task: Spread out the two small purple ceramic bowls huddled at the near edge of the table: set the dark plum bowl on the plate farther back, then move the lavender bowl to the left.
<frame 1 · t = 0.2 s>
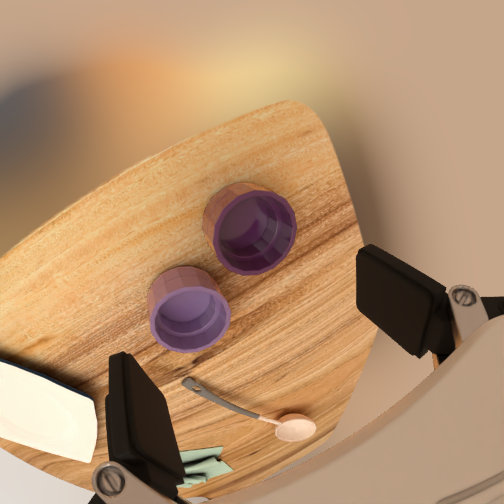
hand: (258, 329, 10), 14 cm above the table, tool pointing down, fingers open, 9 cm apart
plate: (27, 404, 22), on the table
lavender bowl: (182, 296, 24), on the table
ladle: (256, 406, 36), on the table
plum bowl: (239, 219, 24), on the table
cloth: (186, 469, 39), on the table
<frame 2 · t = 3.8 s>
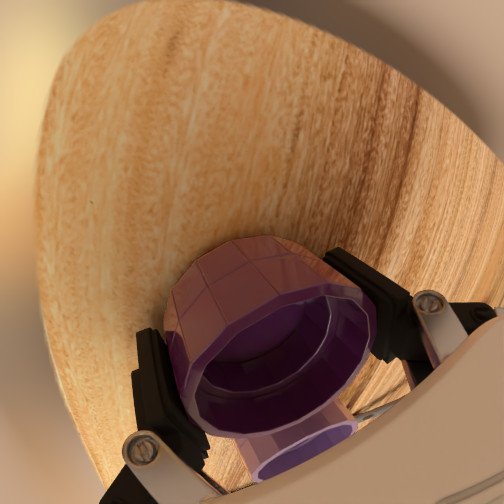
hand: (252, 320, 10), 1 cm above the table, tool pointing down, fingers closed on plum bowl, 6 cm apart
lavender bowl: (277, 407, 15), on the table
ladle: (436, 356, 25), on the table
plum bowl: (245, 309, 11), on the table, touching gripper
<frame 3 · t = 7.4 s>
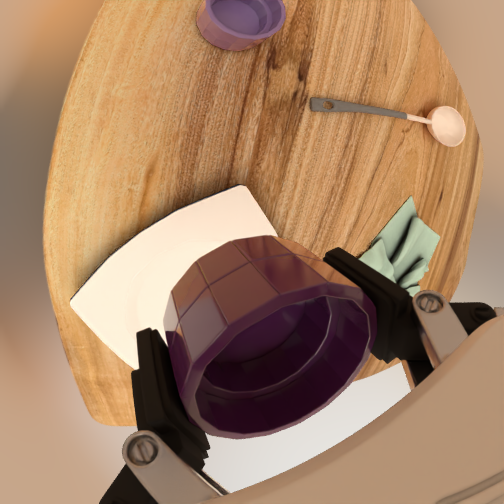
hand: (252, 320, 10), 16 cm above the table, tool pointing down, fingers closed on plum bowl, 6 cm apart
plate: (198, 302, 28), on the table
lavender bowl: (231, 22, 18), on the table
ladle: (396, 115, 28), on the table
plum bowl: (245, 309, 11), point 15 cm above the table, touching gripper
cloth: (402, 262, 39), on the table
when the fingers open (3 cm above the table, at t = 11.1 s): plum bowl stays where it is, resting on plate.
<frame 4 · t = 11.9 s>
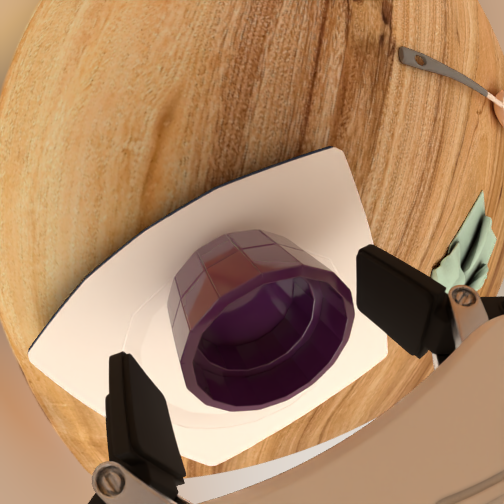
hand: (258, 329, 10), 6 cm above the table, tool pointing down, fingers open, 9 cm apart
plate: (239, 344, 17), on the table, touching plum bowl
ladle: (471, 92, 18), on the table
plum bowl: (239, 296, 12), point 3 cm above the table, touching plate
cloth: (466, 269, 29), on the table
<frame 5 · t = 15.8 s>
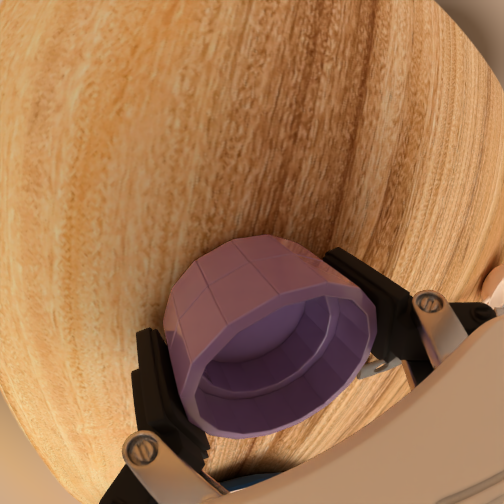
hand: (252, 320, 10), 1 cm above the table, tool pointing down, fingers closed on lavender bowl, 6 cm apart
plate: (218, 498, 21), on the table, touching plum bowl
lavender bowl: (245, 309, 11), on the table, touching gripper
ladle: (454, 303, 21), on the table
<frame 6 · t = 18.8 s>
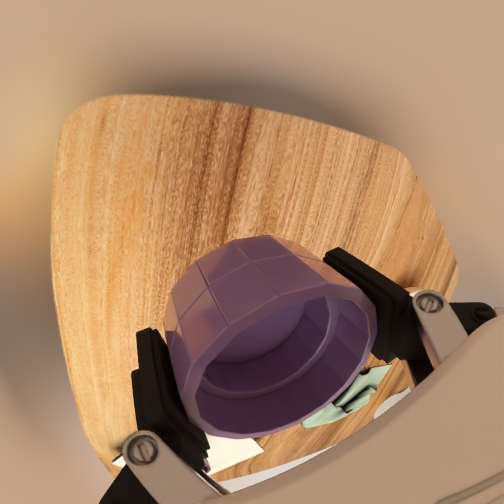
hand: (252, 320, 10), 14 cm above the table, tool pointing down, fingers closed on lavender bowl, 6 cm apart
plate: (188, 448, 35), on the table, touching plum bowl
lavender bowl: (245, 309, 11), point 13 cm above the table, touching gripper
cloth: (349, 394, 47), on the table
when the fingers open (1 cm above the table, at t = 22.2 s): lavender bowl stays where it is, on the table.
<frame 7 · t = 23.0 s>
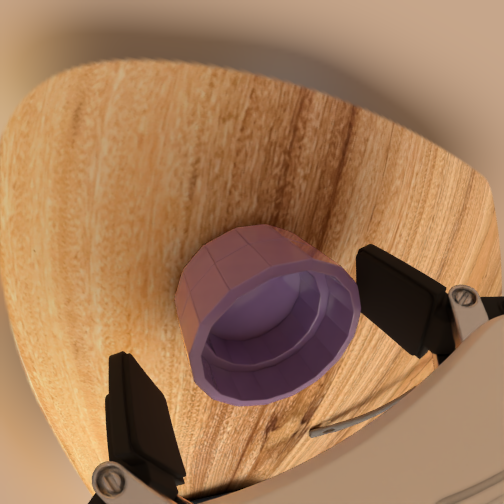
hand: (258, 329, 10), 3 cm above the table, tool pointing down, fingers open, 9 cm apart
lavender bowl: (246, 291, 13), on the table
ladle: (409, 373, 26), on the table
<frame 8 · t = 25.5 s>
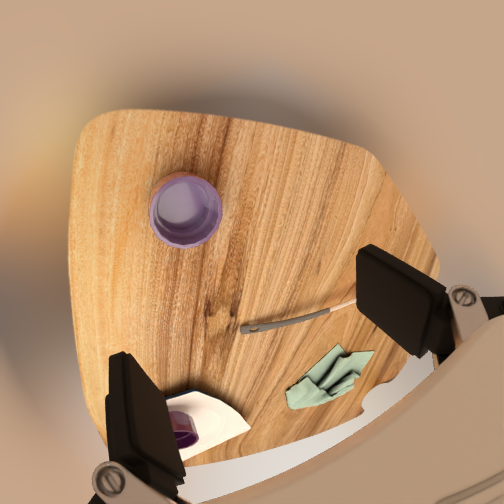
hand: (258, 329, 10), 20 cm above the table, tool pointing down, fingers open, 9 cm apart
plate: (180, 422, 41), on the table, touching plum bowl
lavender bowl: (180, 203, 27), on the table
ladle: (325, 299, 41), on the table
plum bowl: (172, 420, 36), point 3 cm above the table, touching plate
cloth: (332, 377, 52), on the table
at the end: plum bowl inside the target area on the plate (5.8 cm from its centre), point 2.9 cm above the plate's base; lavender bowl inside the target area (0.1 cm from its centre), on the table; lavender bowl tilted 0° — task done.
